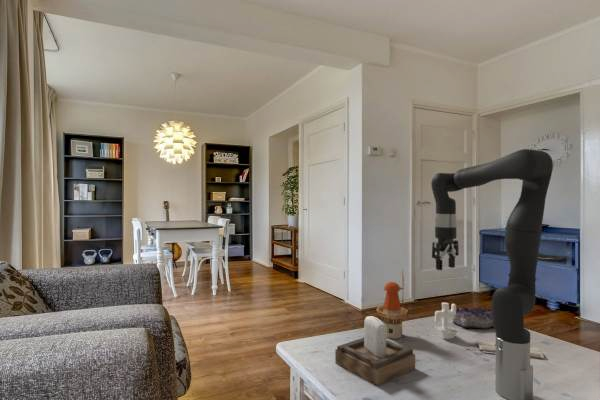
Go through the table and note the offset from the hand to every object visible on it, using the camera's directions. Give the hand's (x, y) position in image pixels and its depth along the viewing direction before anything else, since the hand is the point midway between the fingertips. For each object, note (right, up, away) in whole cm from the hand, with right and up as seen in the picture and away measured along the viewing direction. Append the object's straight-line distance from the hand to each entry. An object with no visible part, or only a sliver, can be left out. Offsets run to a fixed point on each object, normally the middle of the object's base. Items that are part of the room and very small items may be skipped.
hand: (445, 268), depth 134 cm
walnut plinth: (-28, -34, -6) cm, 45 cm away
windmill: (-14, -34, +22) cm, 43 cm away
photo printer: (-28, -29, -6) cm, 41 cm away
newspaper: (+29, -35, +7) cm, 46 cm away
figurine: (+9, -34, +22) cm, 41 cm away
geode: (+29, -35, +36) cm, 58 cm away
